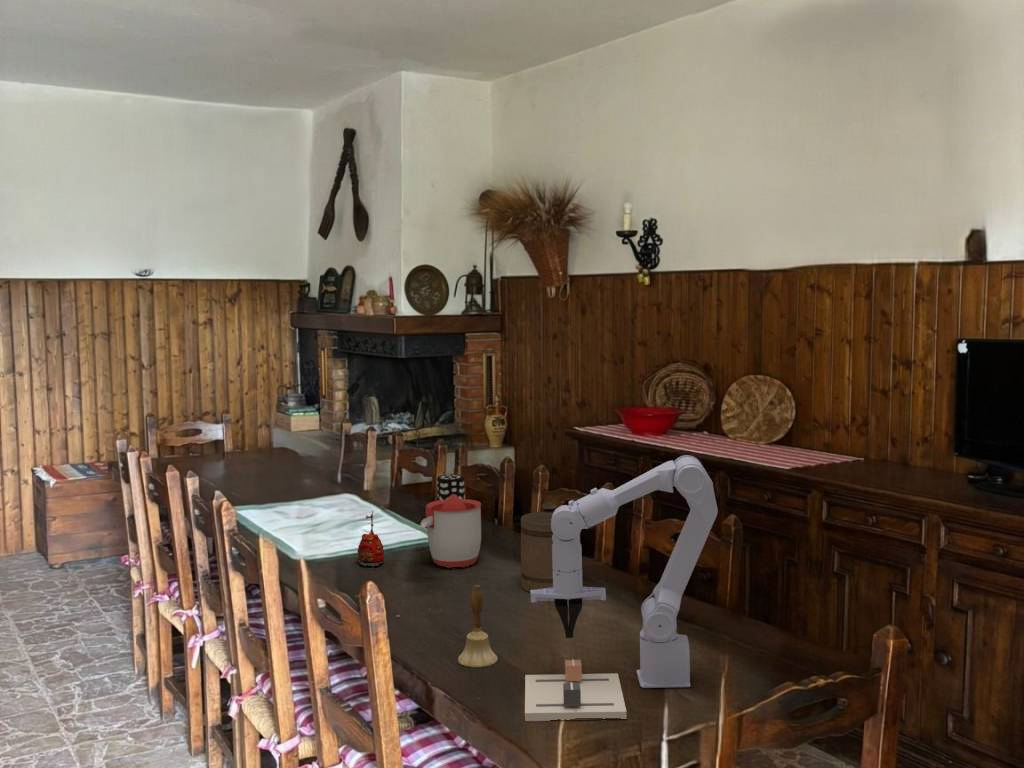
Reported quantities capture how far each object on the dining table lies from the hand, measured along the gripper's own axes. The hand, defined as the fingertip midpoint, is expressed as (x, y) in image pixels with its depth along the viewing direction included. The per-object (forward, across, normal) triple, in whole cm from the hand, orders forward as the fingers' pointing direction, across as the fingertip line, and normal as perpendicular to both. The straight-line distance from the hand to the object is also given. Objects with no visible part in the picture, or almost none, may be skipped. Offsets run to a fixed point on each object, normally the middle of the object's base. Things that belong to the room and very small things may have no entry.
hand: (569, 636), depth 188 cm
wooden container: (+9, +2, -60) cm, 60 cm away
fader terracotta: (+7, 0, +4) cm, 8 cm away
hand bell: (+9, +19, -11) cm, 23 cm away
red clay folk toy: (+9, +51, -84) cm, 99 cm away
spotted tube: (+9, +30, -107) cm, 112 cm away
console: (+9, 0, +10) cm, 13 cm away
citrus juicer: (+9, +28, -82) cm, 88 cm away
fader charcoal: (+7, 0, +15) cm, 17 cm away
